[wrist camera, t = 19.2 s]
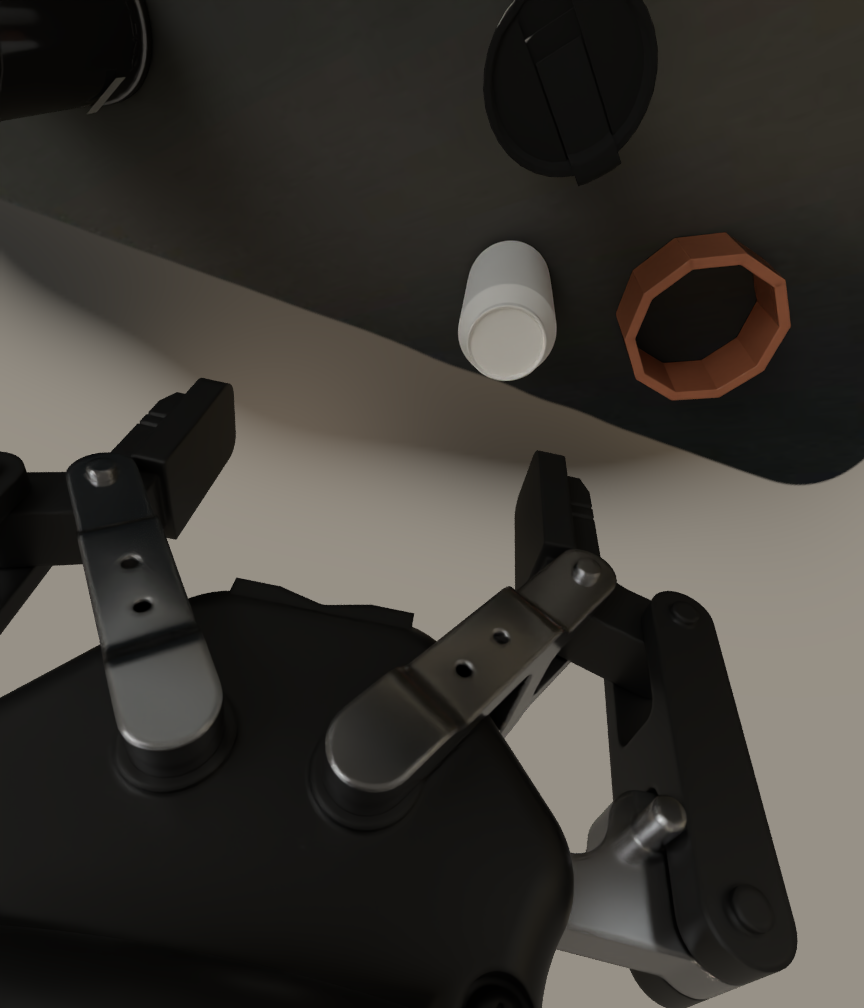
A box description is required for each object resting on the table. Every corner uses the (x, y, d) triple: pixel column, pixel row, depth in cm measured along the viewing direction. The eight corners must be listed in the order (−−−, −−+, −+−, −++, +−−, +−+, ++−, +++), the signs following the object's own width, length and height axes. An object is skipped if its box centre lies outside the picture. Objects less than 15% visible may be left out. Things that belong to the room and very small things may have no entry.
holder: (598, 357, 48) (605, 386, 44) (653, 216, 40) (667, 235, 37) (720, 384, 48) (737, 414, 44) (796, 247, 41) (825, 270, 37)
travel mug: (522, 143, 39) (525, 219, 23) (480, 32, 35) (450, 35, 20) (615, 89, 36) (685, 134, 21) (579, -36, 33) (631, -92, 18)
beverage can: (563, 251, 43) (575, 313, 33) (531, 328, 47) (534, 402, 37) (483, 225, 42) (474, 280, 33) (458, 305, 46) (443, 373, 37)
